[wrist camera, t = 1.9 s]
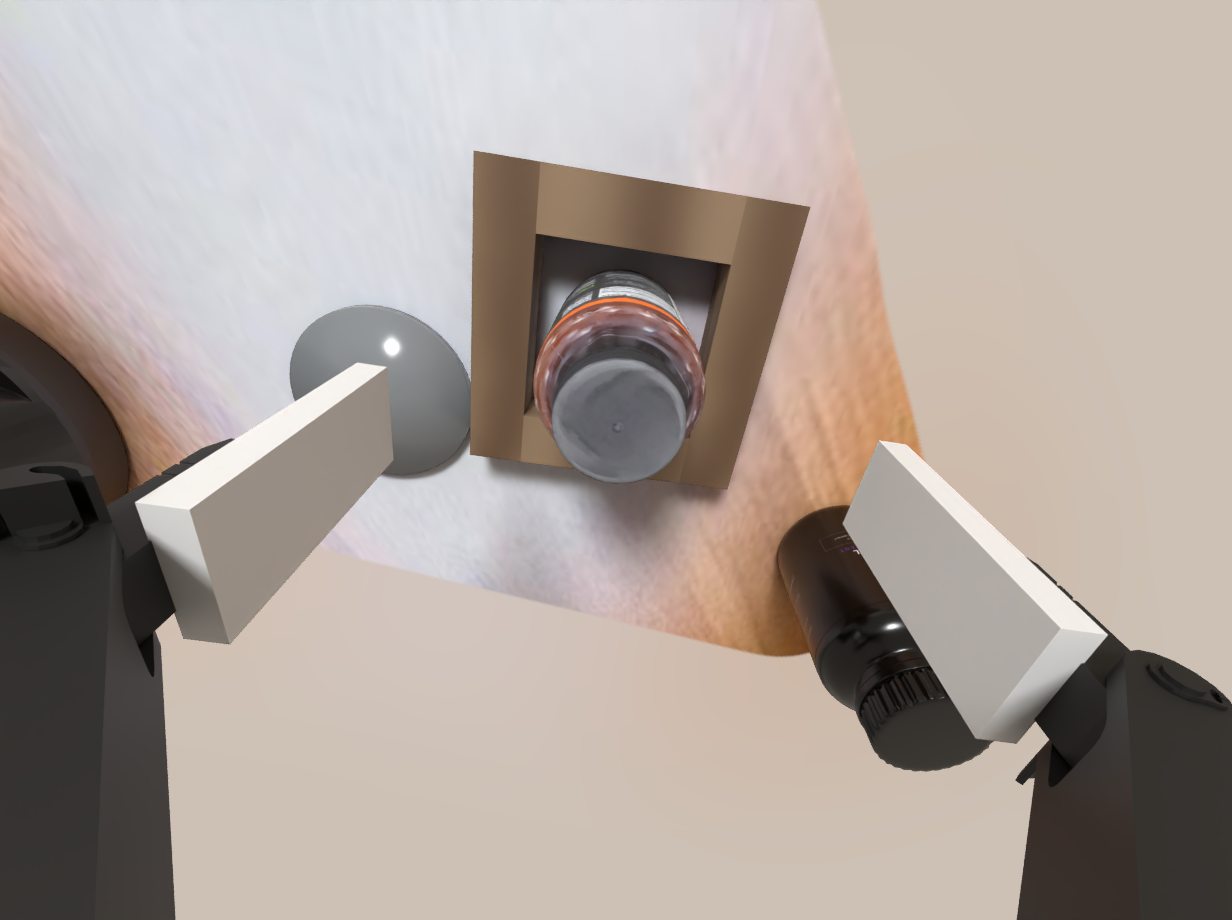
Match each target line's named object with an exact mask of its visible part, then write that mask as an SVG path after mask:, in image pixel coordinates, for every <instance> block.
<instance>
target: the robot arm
mask: <svg viewBox="0 0 1232 920" xmlns="http://www.w3.org/2000/svg"><path fill="white" fill-rule="evenodd" d="M393 460H394V459H393V445H392V430H391V415H390V401H389V386H388V372H387V367H384V366H377V365H370V364H364V363H356V364H354V365H353V366H351V367H349V368H348V369H346V370H345V371H343V372H341V373H340V374H338V375H337V376H335V377H333V378H332V379H330V380H329V381H327V382H326V383H324V384H322V385H321V386H319V387H318V388H316V389H314V390H313V391H311V392H310V393H308V394H306V395H305V396H303V397H302V398H300V399H298V400H297V401H295V402H294V403H292V404H290V405H289V406H287V407H286V408H284V409H283V410H281V411H279V412H278V413H276V414H275V415H273V416H271V417H270V418H268V419H267V420H265V421H263V422H262V423H260V424H259V425H257V426H255V427H254V428H252V429H251V430H249V431H248V432H246V433H244V434H243V435H241V436H240V437H238V438H236V439H228V440H225V441H222V442H219V443H216V444H213V445H210V446H207V447H204V448H202V449H200V450H198V451H197V452H195V453H193V454H192V455H190V456H188V457H187V458H185V459H183V460H182V461H180V464H179V465H178V464H175V465H173V466H172V467H170V468H168V469H167V470H165V471H163V472H162V475H161V476H158V475H157V476H155V477H153V478H152V479H150V480H148V481H147V482H145V483H143V484H142V485H140V486H138V487H137V488H135V489H133V490H132V491H130V492H128V493H127V494H126V492H127V486H128V463H127V458H126V453H125V449H124V446H123V443H122V440H121V438H120V435H119V433H118V431H117V429H116V427H115V424H114V423H113V421H112V419H111V417H110V415H109V414H108V412H107V410H106V409H105V407H104V406H103V404H102V403H101V401H100V400H99V399H98V397H97V396H96V394H95V393H94V392H93V391H92V389H91V388H90V387H89V386H88V384H87V383H86V382H85V381H84V380H83V379H82V377H81V376H80V375H79V374H78V373H77V372H76V371H75V370H74V369H73V368H72V367H71V366H70V365H69V364H68V363H67V362H66V361H65V360H64V359H63V358H62V357H61V356H60V355H59V354H57V353H56V352H55V351H54V350H53V349H52V348H50V347H49V346H48V345H47V344H46V343H44V342H43V341H42V340H40V339H39V338H38V337H37V336H35V335H34V334H32V333H31V332H30V331H28V330H27V329H26V328H24V327H23V326H21V325H20V324H18V323H16V322H15V321H13V320H12V319H10V318H9V317H7V316H5V315H4V314H2V313H0V920H175V904H174V903H175V902H174V884H173V865H172V846H171V830H170V829H171V828H170V809H169V790H168V773H167V755H166V735H165V717H164V698H163V680H162V662H161V661H162V660H161V645H160V642H159V640H158V637H157V635H156V632H155V630H156V629H157V628H158V627H159V626H160V625H161V624H162V623H164V622H165V621H166V620H167V619H168V618H169V617H170V616H171V615H172V614H173V613H175V616H176V619H177V622H178V624H179V627H180V630H181V633H182V636H183V638H184V639H191V640H199V641H207V642H216V643H223V644H231V643H232V641H233V640H234V639H235V638H236V637H237V636H238V635H239V633H240V632H241V631H242V630H243V629H244V628H245V627H246V626H247V624H248V623H249V622H250V621H251V620H252V619H253V618H254V617H255V615H256V614H257V613H258V612H259V611H260V610H261V609H262V608H263V606H264V605H265V604H266V603H267V602H268V601H269V600H270V598H271V597H272V596H273V595H274V594H275V593H276V592H277V591H278V590H279V588H280V587H281V586H282V585H283V584H284V583H285V582H286V580H287V579H288V578H289V577H290V576H291V575H292V574H293V573H294V572H295V570H296V569H297V568H298V567H299V566H300V565H301V563H302V562H303V561H304V560H305V559H306V558H307V557H308V556H309V555H310V553H311V552H312V551H313V550H314V549H315V548H316V547H317V546H318V544H319V543H320V542H321V541H322V540H323V539H324V538H325V537H326V535H327V534H328V533H329V532H330V531H331V530H332V529H333V528H334V526H335V525H336V524H337V523H338V522H339V521H340V520H341V519H342V517H343V516H344V515H345V514H346V513H347V512H348V511H349V510H350V508H351V507H352V506H353V505H354V504H355V503H356V502H357V501H358V499H359V498H360V497H361V496H362V495H363V494H364V493H365V492H366V490H367V489H368V488H369V487H370V486H371V485H372V484H373V483H374V481H375V480H376V479H377V478H378V477H379V476H380V475H381V473H382V472H383V471H384V470H385V469H386V468H387V467H388V466H389V464H390V463H391V462H392V461H393ZM843 525H844V527H845V529H846V530H847V532H848V533H849V535H850V537H851V538H852V540H853V541H854V543H855V545H856V546H857V548H858V550H859V551H860V553H861V554H862V556H863V558H864V559H865V561H866V562H867V564H868V566H869V567H870V569H871V571H872V572H873V574H874V575H875V577H876V579H877V580H878V582H879V583H880V585H881V587H882V588H883V590H884V591H885V593H886V595H887V596H888V598H889V600H890V601H891V603H892V604H893V606H894V608H895V609H896V611H897V612H898V614H899V616H900V617H901V619H902V621H903V622H904V624H905V625H906V627H907V629H908V630H909V632H910V633H911V635H912V637H913V638H914V640H915V642H916V643H917V645H918V646H919V648H920V650H921V651H922V653H923V654H924V656H925V658H926V659H927V661H928V663H929V664H930V666H931V667H932V669H933V671H934V672H935V674H936V675H937V677H938V679H939V680H940V682H941V683H942V685H943V687H944V688H945V690H946V692H947V693H948V695H949V696H950V698H951V700H952V701H953V703H954V704H955V706H956V708H957V709H958V711H959V713H960V714H961V716H962V717H963V719H964V721H965V722H966V724H967V725H968V727H969V729H970V730H971V732H972V734H973V735H974V737H975V738H976V739H984V740H991V741H1000V742H1008V743H1015V744H1016V743H1017V742H1018V741H1019V740H1020V739H1021V738H1022V736H1023V735H1024V734H1025V733H1026V732H1027V731H1028V729H1029V728H1030V727H1031V726H1032V725H1033V723H1034V722H1035V721H1036V722H1037V724H1038V725H1039V726H1040V727H1041V729H1042V730H1043V732H1044V733H1045V734H1046V736H1047V737H1048V738H1049V741H1048V742H1047V743H1046V744H1045V745H1044V747H1043V748H1042V749H1041V750H1040V751H1039V752H1038V753H1037V754H1036V755H1035V757H1034V758H1033V759H1032V760H1031V761H1030V762H1029V763H1028V764H1027V766H1026V767H1025V768H1024V769H1023V770H1022V771H1021V772H1020V774H1019V775H1018V777H1017V779H1016V781H1017V782H1018V783H1020V784H1022V785H1023V784H1024V783H1025V782H1026V781H1027V780H1028V778H1035V782H1034V789H1033V797H1032V805H1031V813H1030V820H1029V828H1028V836H1027V844H1026V852H1025V859H1024V867H1023V876H1022V883H1021V892H1020V899H1019V907H1018V914H1017V920H1232V704H1231V702H1230V701H1229V699H1227V698H1226V697H1225V696H1224V694H1223V693H1221V692H1220V691H1219V690H1218V689H1217V688H1216V687H1215V686H1213V685H1212V684H1210V683H1209V682H1208V681H1206V680H1205V679H1203V678H1202V677H1201V676H1199V675H1198V674H1196V673H1195V672H1193V671H1191V670H1189V669H1187V668H1186V667H1184V666H1182V665H1180V664H1178V663H1176V662H1175V661H1172V660H1170V659H1168V658H1165V657H1162V656H1160V655H1157V654H1155V653H1151V652H1146V651H1141V650H1134V651H1130V650H1129V649H1128V648H1127V647H1126V646H1125V645H1124V644H1123V643H1121V642H1120V641H1119V640H1118V639H1117V638H1116V637H1115V636H1114V635H1113V634H1112V633H1111V632H1110V631H1109V630H1107V629H1106V628H1105V627H1104V626H1103V625H1102V624H1101V623H1100V622H1099V621H1098V620H1097V619H1096V618H1095V617H1094V616H1093V615H1091V614H1090V613H1089V612H1088V611H1087V610H1086V609H1085V608H1084V607H1083V606H1082V605H1081V604H1080V603H1079V602H1077V601H1073V599H1072V598H1073V597H1072V596H1071V595H1070V594H1069V593H1068V592H1067V591H1066V590H1065V589H1063V588H1062V587H1061V586H1058V585H1057V582H1056V581H1055V580H1054V579H1053V578H1052V577H1051V576H1050V575H1049V574H1047V573H1046V572H1045V571H1044V570H1043V569H1042V568H1041V567H1040V566H1039V565H1038V564H1036V563H1035V562H1033V561H1032V560H1030V559H1029V558H1027V557H1025V556H1024V555H1023V554H1022V553H1021V552H1020V551H1018V550H1017V549H1016V548H1015V547H1014V546H1013V545H1012V544H1011V543H1010V542H1009V541H1008V540H1007V539H1006V538H1005V537H1004V536H1003V535H1001V533H1000V532H998V531H997V530H996V529H995V528H994V527H993V526H992V525H991V524H990V523H989V522H988V521H987V520H986V519H985V518H984V517H982V516H981V515H980V514H979V513H978V512H977V511H976V510H975V509H974V508H973V507H972V506H971V505H970V504H969V503H968V502H967V501H966V500H965V499H963V498H962V497H961V496H960V495H959V494H958V493H957V492H956V491H955V490H954V489H953V488H952V487H951V486H950V485H949V484H947V483H946V482H945V481H944V480H943V479H942V478H941V477H940V476H939V475H938V474H937V473H936V472H935V471H934V470H933V469H932V468H931V467H930V466H929V465H927V464H926V463H925V462H924V461H923V460H922V459H921V458H920V457H919V456H918V455H917V454H916V453H915V452H914V451H913V450H912V449H910V448H909V447H908V446H907V445H906V444H899V443H892V442H886V441H878V443H877V446H876V448H875V450H874V453H873V455H872V457H871V460H870V462H869V464H868V466H867V469H866V471H865V473H864V476H863V478H862V480H861V483H860V485H859V487H858V489H857V492H856V494H855V496H854V499H853V501H852V503H851V505H850V508H849V510H848V512H847V515H846V517H845V519H844V522H843Z"/></svg>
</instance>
